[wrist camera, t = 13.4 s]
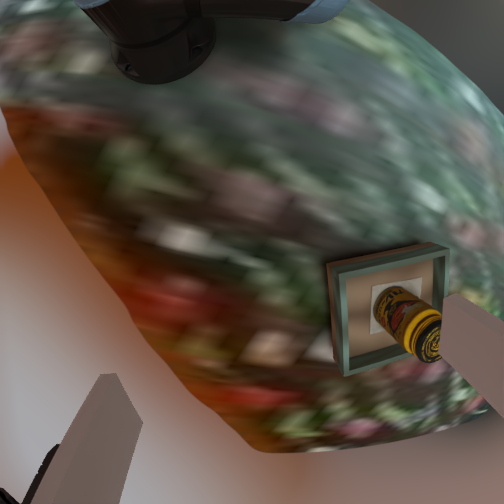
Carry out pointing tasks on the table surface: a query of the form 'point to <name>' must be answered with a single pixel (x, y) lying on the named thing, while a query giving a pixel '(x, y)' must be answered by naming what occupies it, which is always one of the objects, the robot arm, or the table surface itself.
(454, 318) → the robot arm
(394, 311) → the condiment
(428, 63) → the table surface
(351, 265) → the shallow square tray
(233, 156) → the table surface
